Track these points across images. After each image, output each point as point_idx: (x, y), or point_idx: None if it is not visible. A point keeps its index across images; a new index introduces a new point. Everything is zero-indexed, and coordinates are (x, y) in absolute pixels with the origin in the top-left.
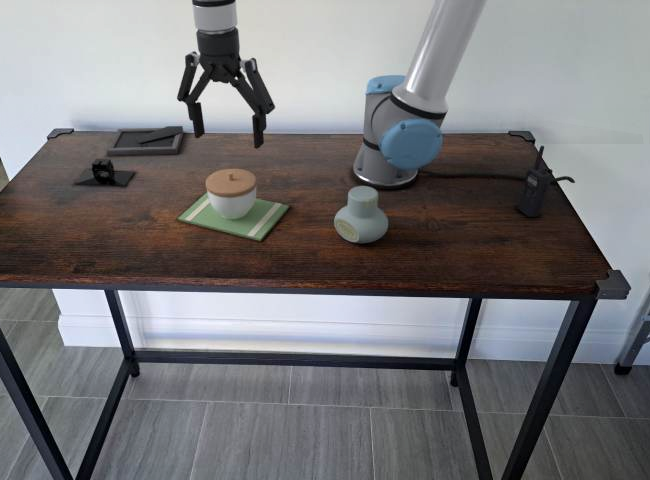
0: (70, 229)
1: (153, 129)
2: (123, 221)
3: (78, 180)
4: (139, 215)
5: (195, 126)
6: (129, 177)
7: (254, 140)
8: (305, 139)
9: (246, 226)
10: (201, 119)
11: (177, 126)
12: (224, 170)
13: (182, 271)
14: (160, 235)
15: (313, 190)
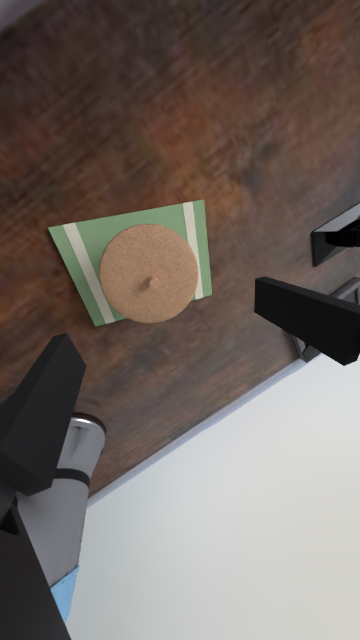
0: (338, 58)
1: None
2: (273, 143)
3: None
4: (260, 176)
5: (286, 287)
6: (315, 252)
7: (54, 349)
8: (188, 422)
9: (98, 245)
10: (288, 324)
11: (310, 359)
12: (186, 298)
13: (72, 20)
14: (199, 138)
15: (104, 370)
